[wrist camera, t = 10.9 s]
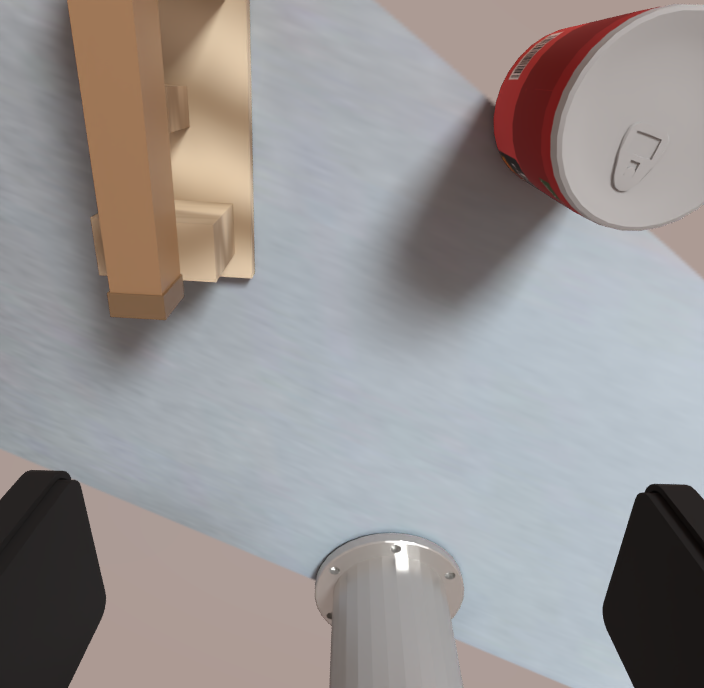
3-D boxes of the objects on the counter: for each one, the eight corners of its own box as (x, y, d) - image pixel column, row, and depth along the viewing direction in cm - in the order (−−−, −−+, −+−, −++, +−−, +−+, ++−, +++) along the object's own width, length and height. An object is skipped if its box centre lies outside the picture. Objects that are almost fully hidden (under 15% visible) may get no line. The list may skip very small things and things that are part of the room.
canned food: (479, 180, 32) (536, 228, 22) (503, 22, 28) (584, -6, 18) (608, 187, 32) (724, 238, 22) (648, 31, 28) (807, 7, 18)
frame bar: (78, -155, 20) (34, -192, 18) (147, -150, 20) (115, -185, 18) (134, 293, 28) (110, 316, 26) (184, 296, 28) (165, 320, 26)
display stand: (254, 273, 34) (236, 310, 29) (126, 265, 34) (84, 301, 29) (247, -108, 26) (219, -157, 20) (77, -121, 25) (3, -174, 20)
